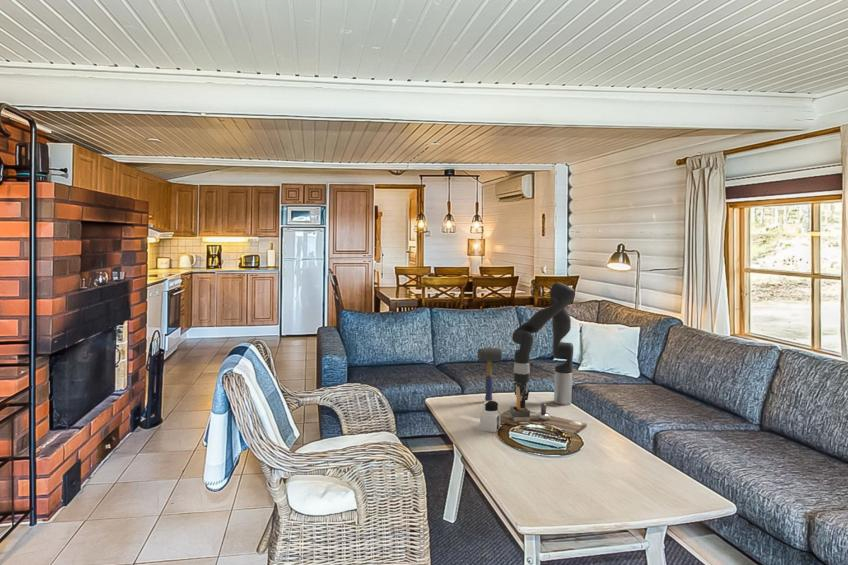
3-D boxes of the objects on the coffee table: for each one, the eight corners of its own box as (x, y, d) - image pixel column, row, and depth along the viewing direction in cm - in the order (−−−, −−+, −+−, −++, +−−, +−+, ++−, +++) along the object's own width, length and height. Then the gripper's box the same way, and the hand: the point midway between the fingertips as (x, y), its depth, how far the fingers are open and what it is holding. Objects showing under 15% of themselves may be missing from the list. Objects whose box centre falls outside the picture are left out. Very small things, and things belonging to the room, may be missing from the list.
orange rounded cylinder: (525, 413, 259) (526, 387, 258) (522, 415, 255) (523, 389, 254) (518, 412, 261) (518, 385, 260) (514, 414, 257) (515, 387, 256)
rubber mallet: (497, 399, 298) (499, 346, 296) (501, 403, 290) (502, 348, 288) (476, 400, 296) (477, 346, 294) (479, 404, 289) (480, 349, 287)
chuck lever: (546, 415, 265) (546, 401, 264) (552, 420, 257) (552, 406, 257) (509, 416, 262) (509, 402, 262) (514, 422, 255) (514, 407, 254)
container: (500, 427, 252) (501, 400, 251) (495, 432, 245) (496, 405, 244) (484, 425, 255) (485, 398, 254) (479, 430, 248) (480, 402, 247)
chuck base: (513, 410, 278) (513, 407, 278) (586, 426, 255) (586, 423, 254) (489, 422, 259) (489, 418, 259) (566, 441, 236) (566, 437, 236)
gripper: (508, 368, 263) (508, 402, 264) (520, 375, 249) (519, 411, 250) (523, 367, 264) (522, 401, 265) (535, 374, 250) (534, 410, 252)
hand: (520, 406), depth 258 cm, fingers closed on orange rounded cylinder, 4 cm apart
